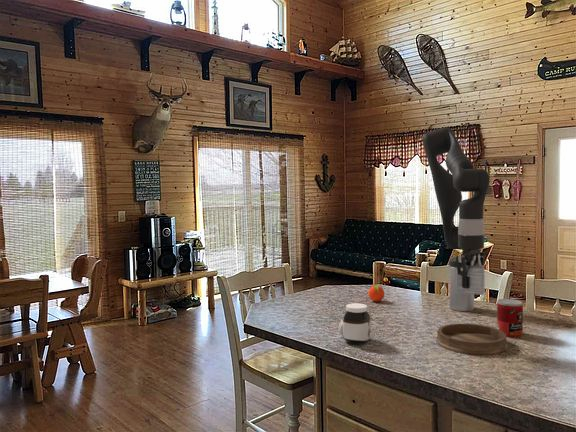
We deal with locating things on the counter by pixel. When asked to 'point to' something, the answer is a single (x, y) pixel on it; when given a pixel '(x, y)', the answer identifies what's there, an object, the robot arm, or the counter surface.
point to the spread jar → (356, 324)
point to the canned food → (510, 317)
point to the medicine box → (473, 281)
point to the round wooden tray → (472, 339)
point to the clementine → (376, 293)
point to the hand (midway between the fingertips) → (471, 286)
